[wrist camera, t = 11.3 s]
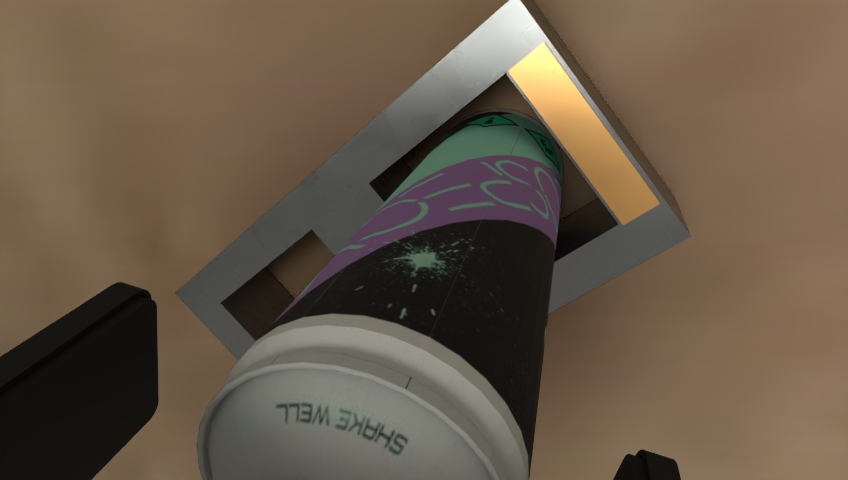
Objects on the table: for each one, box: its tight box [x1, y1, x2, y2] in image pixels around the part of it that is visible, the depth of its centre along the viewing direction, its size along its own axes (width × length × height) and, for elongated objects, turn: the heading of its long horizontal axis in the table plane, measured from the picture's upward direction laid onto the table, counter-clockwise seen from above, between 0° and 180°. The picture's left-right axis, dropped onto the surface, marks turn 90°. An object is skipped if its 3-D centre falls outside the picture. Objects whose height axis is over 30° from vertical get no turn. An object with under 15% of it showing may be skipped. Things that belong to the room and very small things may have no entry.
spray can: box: [197, 109, 564, 480], centre depth 15 cm, size 6×6×20 cm
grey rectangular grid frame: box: [175, 0, 691, 360], centre depth 24 cm, size 20×10×4 cm, turn 130°
